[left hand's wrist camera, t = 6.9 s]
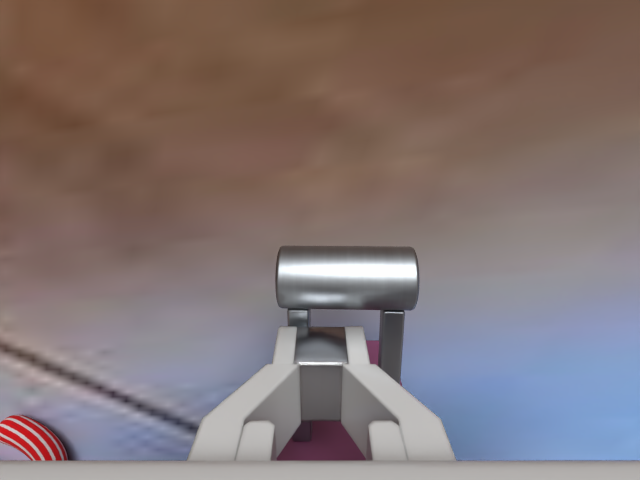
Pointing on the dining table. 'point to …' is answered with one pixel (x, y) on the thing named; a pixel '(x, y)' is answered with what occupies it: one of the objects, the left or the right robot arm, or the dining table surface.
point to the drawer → (346, 293)
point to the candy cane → (32, 439)
